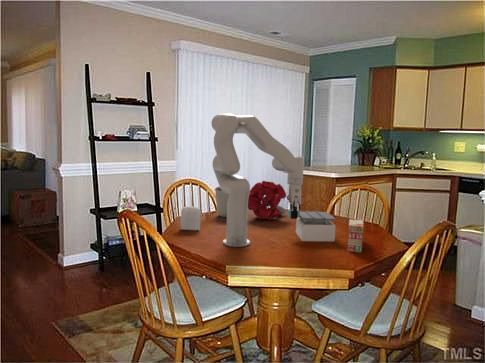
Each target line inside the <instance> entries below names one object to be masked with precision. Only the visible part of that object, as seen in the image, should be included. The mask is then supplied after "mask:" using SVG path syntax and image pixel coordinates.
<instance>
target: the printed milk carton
mask: <svg viewBox="0 0 485 363" xmlns="http://www.w3.org/2000/svg"><path fill="white" fill-rule="evenodd" d="M364 228H365V227H364V221H363V220H362V219H351V218H350V219H349V220H348V234H347V252H349V253H350V252H351V253H361V254H362V251H363V238H364Z"/></svg>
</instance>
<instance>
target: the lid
mask: <svg viewBox="0 0 485 363" xmlns="http://www.w3.org/2000/svg"><path fill="white" fill-rule="evenodd" d="M291 211H292V209H290V208H288V209H287V214H286V215H287V216H288V217H289V218H291ZM288 217H287V218H288ZM297 218H301V219H302V220H330V221H337V219H336V218H335V217H334V216H333V215H331V214H330V213H329V212H327V211H318V210H315V211H308V210H305V211H301V210H300V209H298V215H297Z"/></svg>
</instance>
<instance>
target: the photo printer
mask: <svg viewBox="0 0 485 363" xmlns="http://www.w3.org/2000/svg"><path fill="white" fill-rule="evenodd" d="M180 211H181V212H180V230H184V231H186V230H187V231H197V230H198V231H200V230H201V209H200V208H199V207H197V206H192V205H191V206H190V205H189V206H187V205H186V206H184V207H181V210H180ZM198 231H197V232H198Z"/></svg>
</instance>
